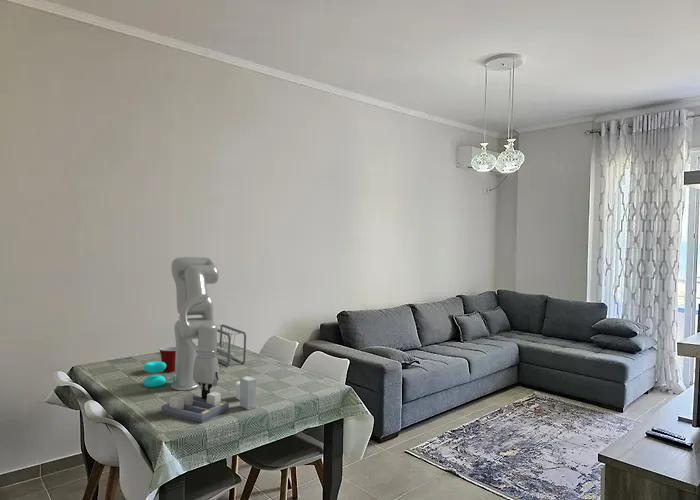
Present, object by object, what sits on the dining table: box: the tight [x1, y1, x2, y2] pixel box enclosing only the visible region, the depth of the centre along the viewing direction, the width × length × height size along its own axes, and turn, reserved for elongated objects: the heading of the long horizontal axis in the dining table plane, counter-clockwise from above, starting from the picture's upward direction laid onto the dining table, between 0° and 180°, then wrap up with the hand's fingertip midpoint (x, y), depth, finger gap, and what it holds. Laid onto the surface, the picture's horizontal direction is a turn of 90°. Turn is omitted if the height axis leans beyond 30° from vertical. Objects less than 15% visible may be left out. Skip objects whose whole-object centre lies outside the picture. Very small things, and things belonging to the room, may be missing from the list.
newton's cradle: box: [216, 324, 247, 367], centre depth 268 cm, size 30×10×18 cm, turn 41°
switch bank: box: [160, 394, 230, 424], centre depth 189 cm, size 20×16×3 cm
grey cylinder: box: [234, 380, 240, 401], centre depth 207 cm, size 7×7×7 cm
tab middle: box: [178, 391, 194, 405], centre depth 191 cm, size 4×4×4 cm
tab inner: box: [207, 391, 222, 405], centre depth 192 cm, size 4×4×4 cm
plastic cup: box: [158, 346, 176, 373], centre depth 242 cm, size 11×11×12 cm
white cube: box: [169, 394, 184, 409], centre depth 186 cm, size 4×4×4 cm
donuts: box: [142, 360, 167, 388], centre depth 220 cm, size 10×10×10 cm
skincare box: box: [239, 375, 257, 410], centre depth 196 cm, size 6×4×12 cm
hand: (205, 398), depth 194 cm, fingers closed
